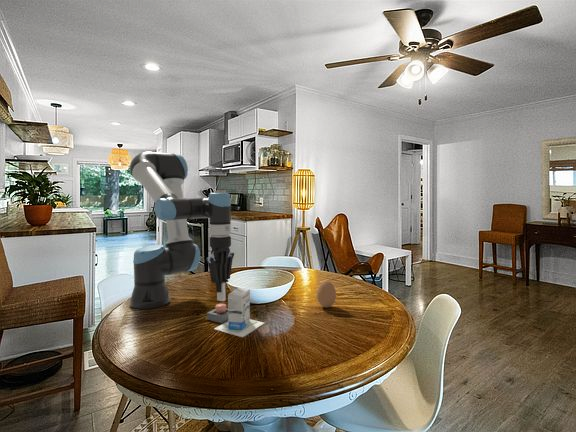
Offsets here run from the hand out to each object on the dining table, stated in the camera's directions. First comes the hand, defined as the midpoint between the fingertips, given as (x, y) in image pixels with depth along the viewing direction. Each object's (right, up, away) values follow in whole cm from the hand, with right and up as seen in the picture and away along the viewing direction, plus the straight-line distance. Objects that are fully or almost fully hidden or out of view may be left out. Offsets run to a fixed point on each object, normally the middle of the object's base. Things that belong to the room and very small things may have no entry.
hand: (221, 300), depth 120 cm
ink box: (+8, -7, -6) cm, 12 cm away
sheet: (+8, -7, -6) cm, 12 cm away
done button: (0, -4, +1) cm, 5 cm away
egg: (+40, -6, +13) cm, 42 cm away
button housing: (0, -7, +1) cm, 7 cm away
